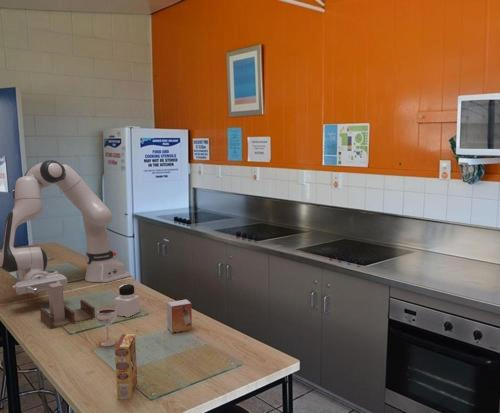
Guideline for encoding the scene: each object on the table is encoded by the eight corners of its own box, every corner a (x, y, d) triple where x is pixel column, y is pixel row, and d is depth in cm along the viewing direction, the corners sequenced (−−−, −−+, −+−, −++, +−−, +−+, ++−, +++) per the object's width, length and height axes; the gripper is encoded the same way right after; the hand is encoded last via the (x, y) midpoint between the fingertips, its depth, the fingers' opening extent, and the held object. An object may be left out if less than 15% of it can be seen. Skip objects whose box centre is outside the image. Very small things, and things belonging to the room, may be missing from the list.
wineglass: (107, 348, 163) (105, 315, 161) (93, 344, 166) (92, 311, 165) (122, 341, 168) (120, 309, 167) (108, 337, 172) (107, 305, 170)
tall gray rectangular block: (60, 316, 191) (58, 282, 189) (64, 319, 187) (62, 285, 185) (50, 318, 188) (48, 284, 187) (54, 322, 185) (52, 287, 183)
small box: (171, 333, 175) (171, 306, 174) (167, 328, 180) (166, 301, 179) (192, 330, 179) (191, 303, 178) (187, 325, 184) (186, 298, 183)
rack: (83, 309, 201) (82, 299, 200) (95, 318, 191) (94, 307, 190) (40, 319, 190) (40, 308, 189) (50, 328, 180) (50, 317, 179)
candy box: (132, 399, 131) (130, 346, 128) (116, 400, 130) (114, 346, 128) (137, 383, 139) (136, 333, 137) (123, 384, 139) (121, 333, 137)
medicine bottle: (139, 312, 198) (139, 284, 196) (128, 317, 192) (127, 288, 190) (126, 309, 201) (125, 282, 199) (114, 315, 195) (113, 286, 193)
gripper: (10, 278, 199) (19, 286, 189) (60, 270, 212) (71, 277, 202) (11, 293, 200) (20, 301, 190) (61, 284, 213) (72, 291, 203)
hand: (46, 289), depth 196 cm, fingers open, 8 cm apart
